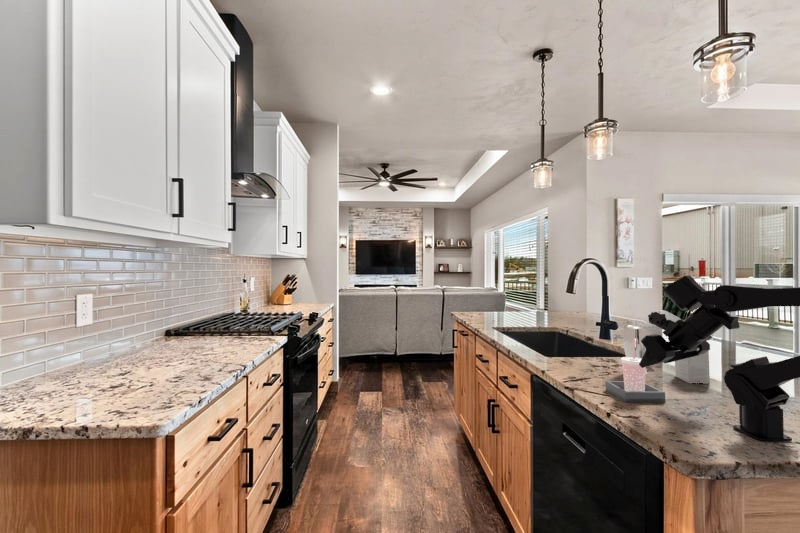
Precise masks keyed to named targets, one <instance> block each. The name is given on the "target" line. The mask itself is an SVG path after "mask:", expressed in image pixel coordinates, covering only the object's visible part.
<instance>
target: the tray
mask: <svg viewBox="0 0 800 533" xmlns="http://www.w3.org/2000/svg"><path fill="white" fill-rule="evenodd" d="M605 391H607V392H608V393H610V394H611V395H613V396H615V397H616V398H618V399H619V400H621V401H623V402H624V403H666V392H665V391H664V390H661V389H659V388H657V387H655V386H653V385H651V384H649V383H647V382H645V391H632V392H627V391H625V389H624V380H606V381H605Z"/></svg>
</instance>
